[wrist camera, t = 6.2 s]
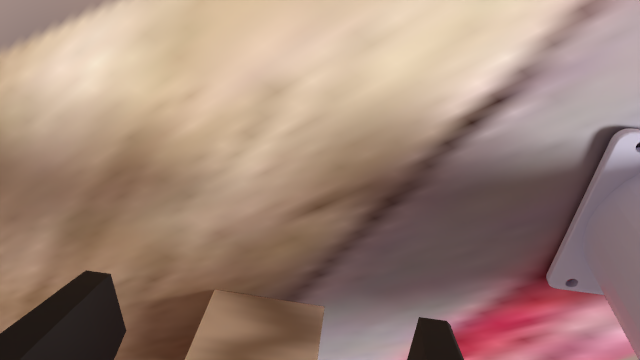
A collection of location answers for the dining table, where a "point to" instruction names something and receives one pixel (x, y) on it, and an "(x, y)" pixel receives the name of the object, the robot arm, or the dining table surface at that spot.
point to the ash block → (257, 329)
